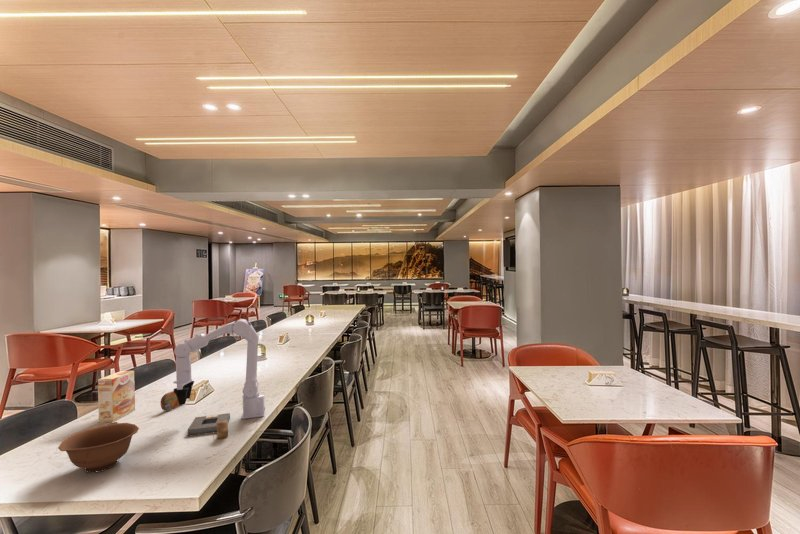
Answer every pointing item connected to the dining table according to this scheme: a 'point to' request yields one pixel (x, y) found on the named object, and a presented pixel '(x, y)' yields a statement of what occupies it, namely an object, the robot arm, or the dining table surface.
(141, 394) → the dining table surface
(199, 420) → the plate
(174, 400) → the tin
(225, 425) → the peg
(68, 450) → the bowl
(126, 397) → the coffeecake box
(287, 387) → the dining table surface
